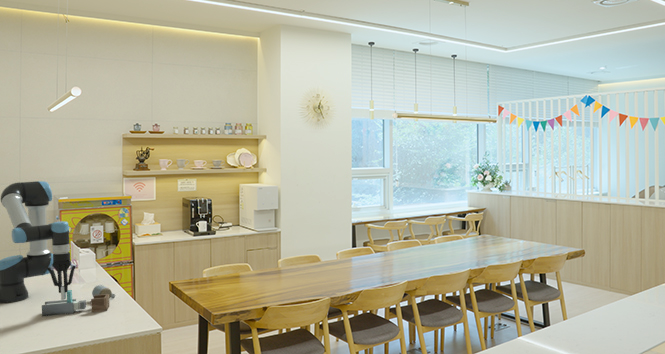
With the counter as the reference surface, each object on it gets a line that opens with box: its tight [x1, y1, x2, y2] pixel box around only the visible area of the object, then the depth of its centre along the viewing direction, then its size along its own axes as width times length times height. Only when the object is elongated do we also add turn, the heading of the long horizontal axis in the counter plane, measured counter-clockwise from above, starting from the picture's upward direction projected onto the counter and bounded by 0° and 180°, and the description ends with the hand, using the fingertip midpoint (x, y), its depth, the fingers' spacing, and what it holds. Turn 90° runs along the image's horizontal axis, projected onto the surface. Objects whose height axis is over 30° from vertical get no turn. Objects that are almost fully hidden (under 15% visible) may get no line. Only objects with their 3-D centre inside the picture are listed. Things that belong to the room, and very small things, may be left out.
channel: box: [41, 298, 77, 317], centre depth 245 cm, size 6×14×6 cm, turn 106°
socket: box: [90, 294, 110, 313], centre depth 250 cm, size 8×7×6 cm
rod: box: [46, 289, 87, 311], centre depth 245 cm, size 4×18×10 cm, turn 106°
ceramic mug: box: [91, 284, 116, 300], centre depth 266 cm, size 11×8×8 cm
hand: (63, 298), depth 245 cm, fingers closed
